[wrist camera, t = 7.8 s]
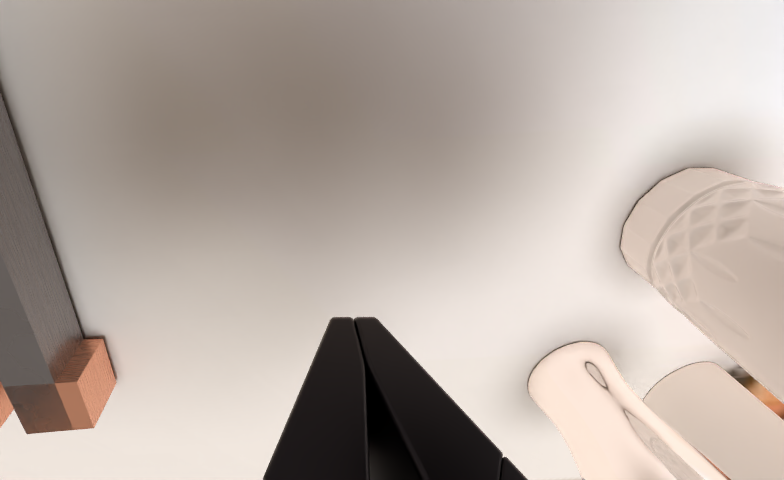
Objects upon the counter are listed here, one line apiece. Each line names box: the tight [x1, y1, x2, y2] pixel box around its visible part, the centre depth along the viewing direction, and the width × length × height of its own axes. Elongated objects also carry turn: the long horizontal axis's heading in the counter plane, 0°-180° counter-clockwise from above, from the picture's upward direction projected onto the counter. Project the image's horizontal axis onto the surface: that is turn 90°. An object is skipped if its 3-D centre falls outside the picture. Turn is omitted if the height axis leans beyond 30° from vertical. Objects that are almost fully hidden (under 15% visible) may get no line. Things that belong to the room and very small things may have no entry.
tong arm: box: [0, 93, 116, 434], centre depth 14 cm, size 19×3×3 cm, turn 173°
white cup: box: [620, 168, 784, 404], centre depth 19 cm, size 8×8×10 cm
